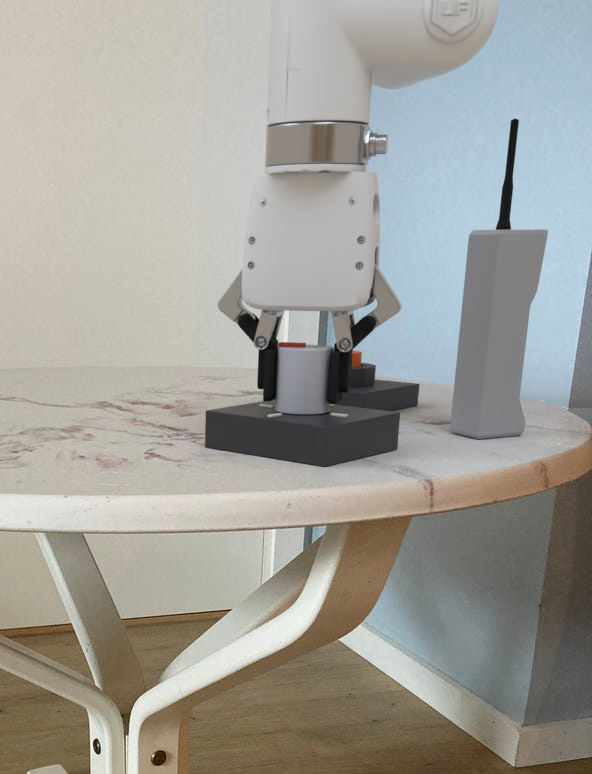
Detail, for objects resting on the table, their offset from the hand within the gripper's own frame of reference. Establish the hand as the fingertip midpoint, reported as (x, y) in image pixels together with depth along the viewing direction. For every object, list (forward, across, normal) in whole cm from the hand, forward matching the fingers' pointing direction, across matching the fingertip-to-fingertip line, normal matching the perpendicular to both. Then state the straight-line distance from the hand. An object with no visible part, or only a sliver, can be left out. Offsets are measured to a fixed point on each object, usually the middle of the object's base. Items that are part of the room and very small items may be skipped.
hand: (302, 398), depth 89 cm
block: (+4, +1, -26) cm, 26 cm away
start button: (0, +1, -26) cm, 26 cm away
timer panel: (+4, 0, 0) cm, 4 cm away
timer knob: (+1, 0, 0) cm, 1 cm away
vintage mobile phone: (+4, -14, -12) cm, 19 cm away
